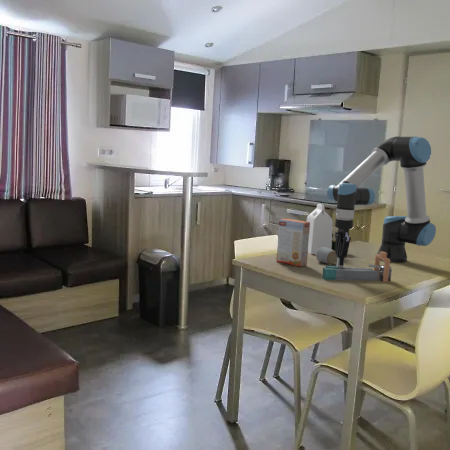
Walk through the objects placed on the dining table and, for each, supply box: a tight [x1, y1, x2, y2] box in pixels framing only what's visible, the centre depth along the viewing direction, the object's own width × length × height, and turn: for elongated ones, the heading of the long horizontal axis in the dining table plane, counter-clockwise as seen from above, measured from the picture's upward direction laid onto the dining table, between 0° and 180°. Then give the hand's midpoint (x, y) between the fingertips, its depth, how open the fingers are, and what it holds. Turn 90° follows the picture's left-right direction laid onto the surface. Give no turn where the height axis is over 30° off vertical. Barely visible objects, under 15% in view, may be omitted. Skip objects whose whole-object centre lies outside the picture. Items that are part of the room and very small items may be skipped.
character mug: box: [331, 226, 338, 252], centre depth 283 cm, size 11×7×13 cm, turn 62°
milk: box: [305, 203, 333, 256], centre depth 277 cm, size 12×12×26 cm
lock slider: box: [373, 252, 391, 283], centre depth 224 cm, size 2×10×12 cm, turn 8°
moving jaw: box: [325, 263, 392, 270], centre depth 224 cm, size 27×7×6 cm, turn 94°
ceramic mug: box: [315, 247, 337, 266], centre depth 252 cm, size 11×8×8 cm
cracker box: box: [276, 218, 310, 268], centre depth 245 cm, size 14×6×21 cm, turn 47°
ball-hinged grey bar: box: [322, 267, 393, 283], centre depth 222 cm, size 30×5×5 cm, turn 98°
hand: (339, 271), depth 228 cm, fingers closed
